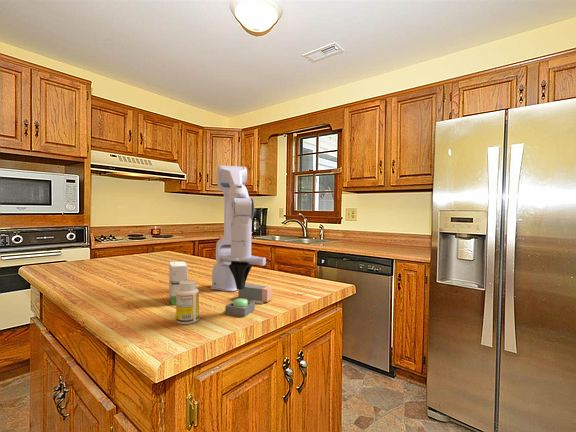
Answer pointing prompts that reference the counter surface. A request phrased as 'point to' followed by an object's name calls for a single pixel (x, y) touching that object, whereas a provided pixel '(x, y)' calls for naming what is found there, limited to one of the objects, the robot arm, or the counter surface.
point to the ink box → (176, 278)
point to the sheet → (255, 301)
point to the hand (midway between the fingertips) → (240, 288)
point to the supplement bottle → (187, 302)
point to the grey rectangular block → (255, 292)
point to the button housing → (240, 309)
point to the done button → (240, 302)
